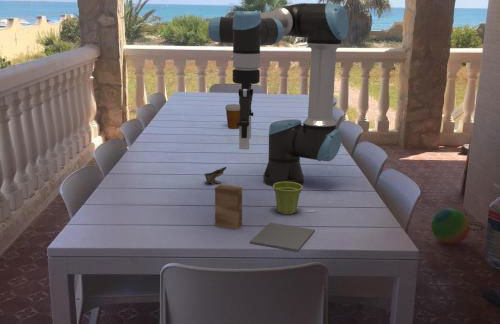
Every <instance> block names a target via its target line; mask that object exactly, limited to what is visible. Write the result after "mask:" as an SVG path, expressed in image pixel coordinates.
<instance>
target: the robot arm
mask: <svg viewBox="0 0 500 324" xmlns="http://www.w3.org/2000/svg"><path fill="white" fill-rule="evenodd" d="M347 13H348V12H347V10H346V8H345V7H344V6H343V5H341V4H338V3H331V2H327V3H323V2H322V3H319V2H318V3H317V2H316V3H315V2H313V3H312V2H311V3H306V2H301V3H300V2H299V3H295V4H290V5H289V4H288V5H285V6H280V7H276V8H273V9H272V10H271V11H266V12H260V11H255V10H253V11H251V10H250V11H249V10H248V11H247V10H246V11H245V10H244V11H243V10H236V11H235V12H234V13H233V16H226V17H225V16H217V17H216V16H215V17H213V18H211V20H210V21H209V22H208V25H207V26H208V27H207V30H208V31H207V33H208V37H209V38H210V40H211V41H212V42H214V43H220V44H232V55H231V56H230V60H233V61H232V68H233V70H232V82H233V83H234V84H238V85H239V84H240V85H241V88H239V89H238V105H240V121H239V123H237V126H239V128H238V129H239V130H238V131H239V134H238V135H239V136H238V137H239V138H238V142H239V143H238V145H239V146H238V150H250V139H252V117H254V112H253V111H252V104H253V103H252V102H253V97H254V89H252V85H256V84H259V83H260V79H261V76H260V73H261V72H260V70H259V68H260V67H261V46H273V45H276V44H278V43H279V42H281V41H282V39H283V37H284V36H285V37H293V38H294V37H295V38H302V39H306V40H307V41H306V44H307V45H308V47H309V48H310V66H309V67H310V71H309V84H308V85H309V87H308V88H309V89H308V105H307V106H308V107H307V118H306V119H305V120H303V122H302V121H301V120H300V119H282V120H281V119H280V120H278V121H277V120H276V121H273V122H271V123H270V125H269V131H268V159H267V160H268V162H267V164H266V167H265V169H264V173H263V177H262V178H263V183H265V184H267V186H271V187H273V185H274V184H275V183H278V182H295V183H298V184H301V185H303V184H304V182H305V181H304V180H305V175H304V173H303V169H302V165H301V158H303V159H309V160H315V161H317V162H321V161H322V162H331V161H332V160H334V159H335V158H336V157H337V155H338V153H339V152H340V148H341V144H342V140H343V138H342V137H343V135H342V132H341V130H339V129H338V128H337V122H336V121H335V120H334V119H333V112H334V110H333V109H334V97H335V82H336V81H335V78H336V63H337V50H338V48H339V47H341V45H342V40H345V39H346V38H347V37H348V33H349V30H350V29H349V27H350V25H349V24H350V23H349V22H350V21H349V16H348V14H347ZM302 124H303V125H302Z"/></svg>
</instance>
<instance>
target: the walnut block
mask: <svg viewBox="0 0 500 324" xmlns="http://www.w3.org/2000/svg"><path fill="white" fill-rule="evenodd" d="M214 221H215V222H214V227H217V226H219V227H218V228H223V227H224V228H225V229H230V230H231V229H232V230H238V229H239V228H240V227H241V226H243V187H242V186H239V185H237V186H236V185H228V184H223V183H221V184H218V185H217V186H216V187H215V188H214Z"/></svg>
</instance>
